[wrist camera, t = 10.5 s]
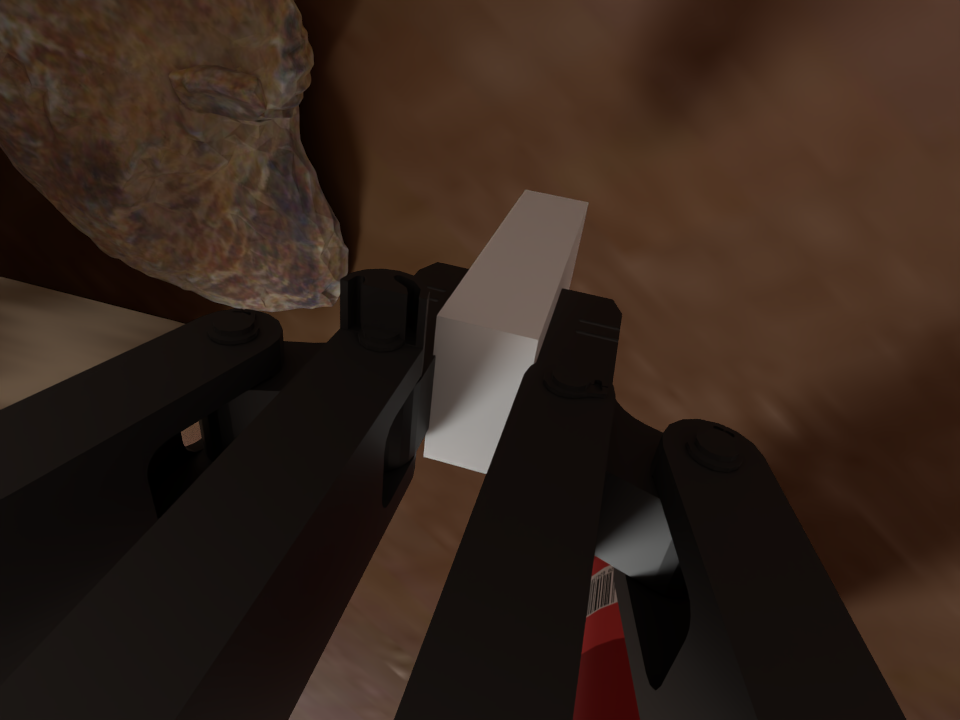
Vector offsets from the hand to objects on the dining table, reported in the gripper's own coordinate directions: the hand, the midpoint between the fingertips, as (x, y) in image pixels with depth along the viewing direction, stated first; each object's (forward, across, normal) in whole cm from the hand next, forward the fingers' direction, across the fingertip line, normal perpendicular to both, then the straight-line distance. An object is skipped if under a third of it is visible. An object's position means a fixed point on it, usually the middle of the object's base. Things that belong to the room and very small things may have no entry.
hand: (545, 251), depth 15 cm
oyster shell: (+4, +11, 0) cm, 11 cm away
